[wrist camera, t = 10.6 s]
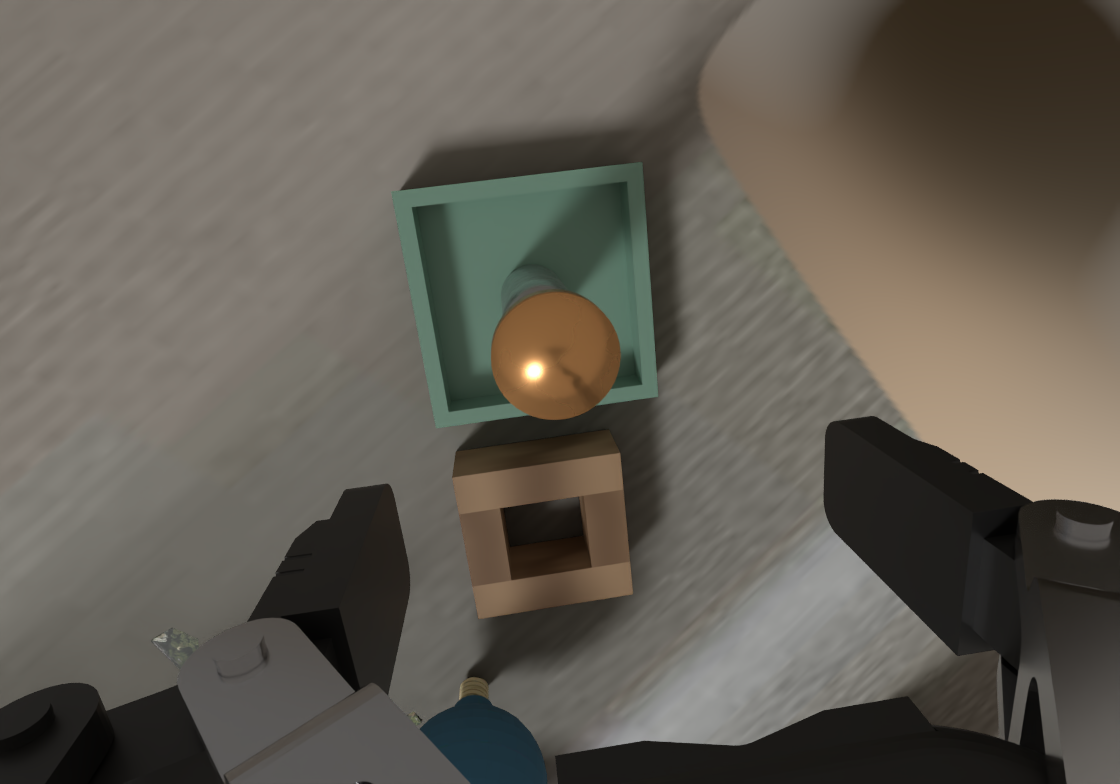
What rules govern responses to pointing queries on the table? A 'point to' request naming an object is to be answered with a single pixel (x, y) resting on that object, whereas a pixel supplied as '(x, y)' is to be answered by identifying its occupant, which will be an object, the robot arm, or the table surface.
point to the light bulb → (486, 740)
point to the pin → (552, 347)
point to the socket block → (550, 566)
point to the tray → (511, 242)
